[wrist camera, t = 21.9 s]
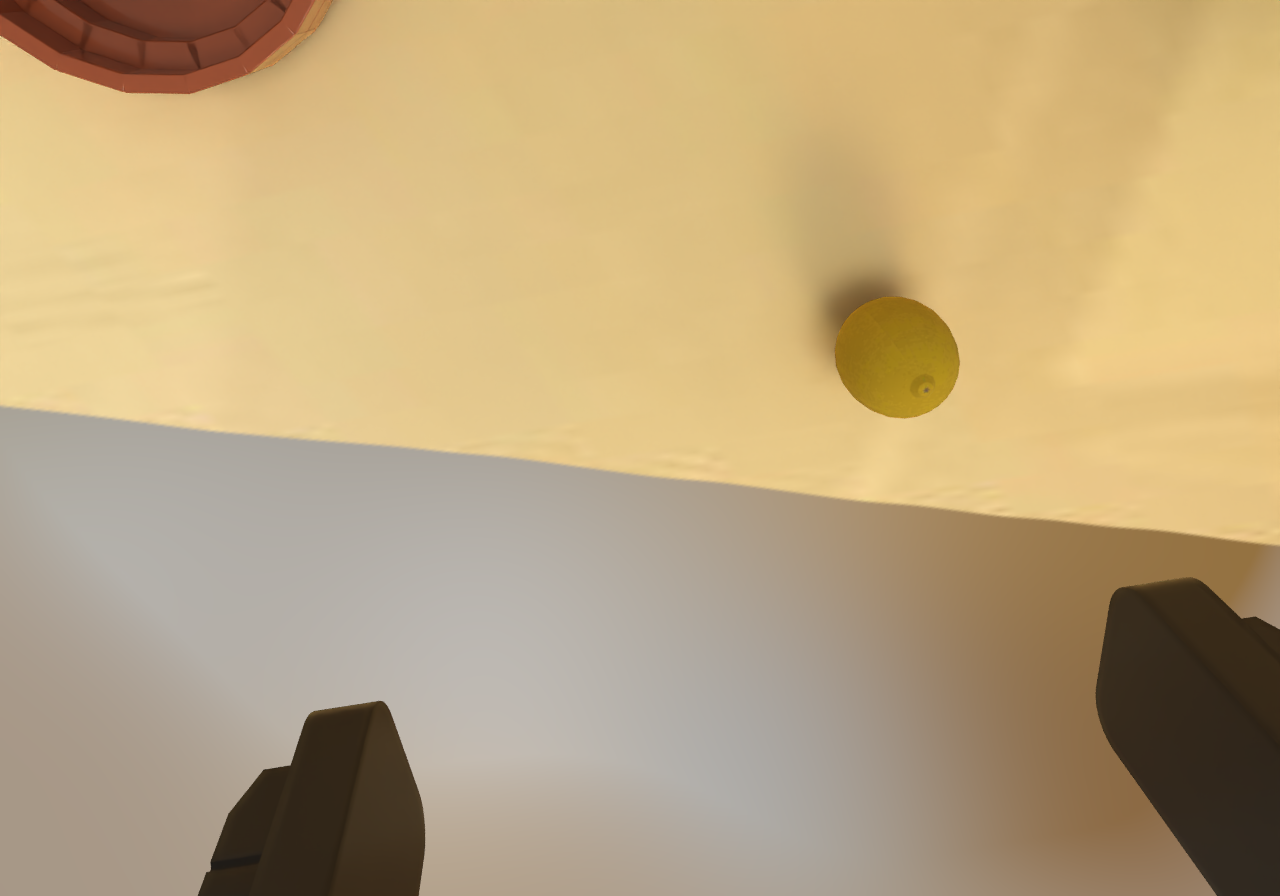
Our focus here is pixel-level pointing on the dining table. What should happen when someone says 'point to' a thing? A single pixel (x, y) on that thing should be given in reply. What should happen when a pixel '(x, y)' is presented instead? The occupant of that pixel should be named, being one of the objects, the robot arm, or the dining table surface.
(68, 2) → the dish
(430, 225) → the dining table surface
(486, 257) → the dining table surface
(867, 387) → the lemon
